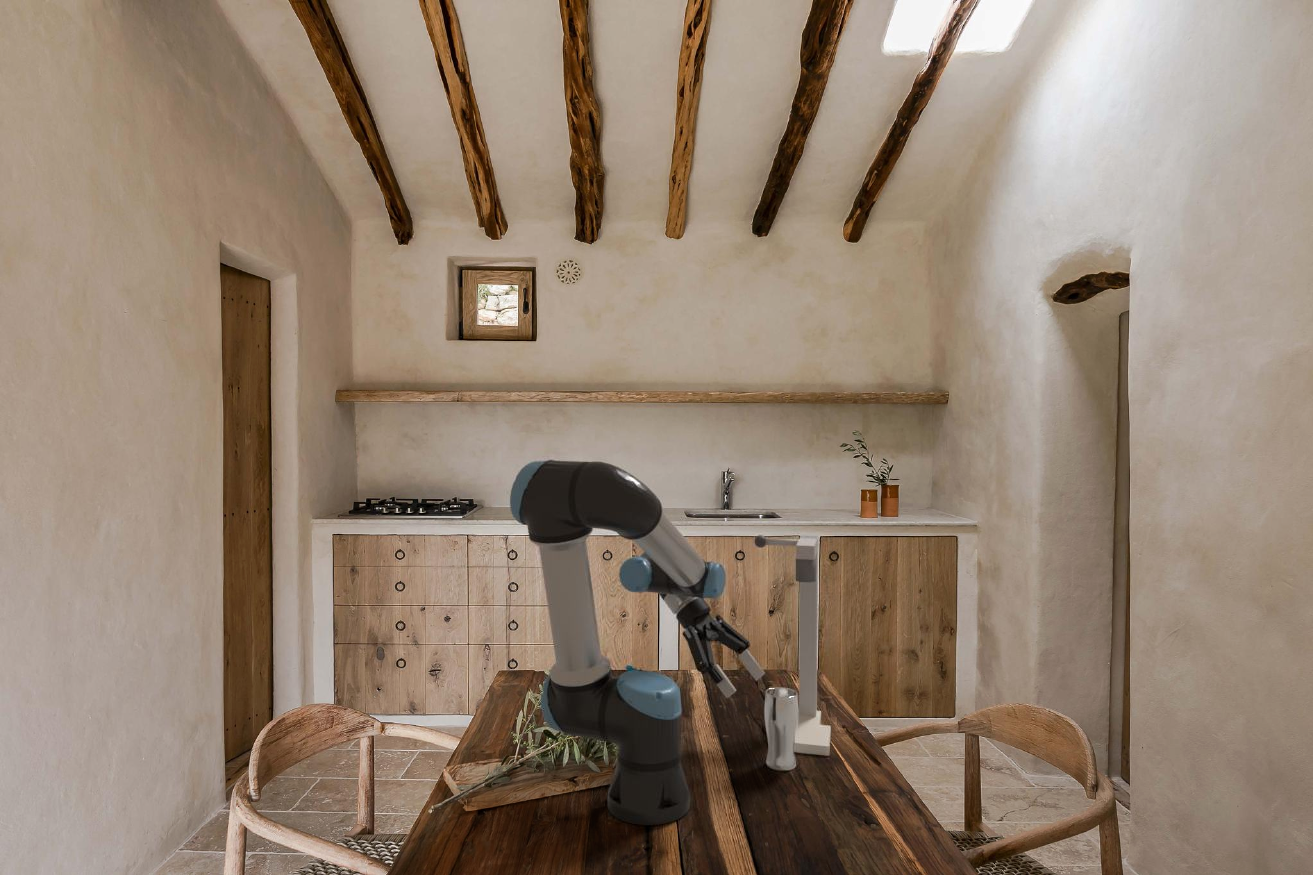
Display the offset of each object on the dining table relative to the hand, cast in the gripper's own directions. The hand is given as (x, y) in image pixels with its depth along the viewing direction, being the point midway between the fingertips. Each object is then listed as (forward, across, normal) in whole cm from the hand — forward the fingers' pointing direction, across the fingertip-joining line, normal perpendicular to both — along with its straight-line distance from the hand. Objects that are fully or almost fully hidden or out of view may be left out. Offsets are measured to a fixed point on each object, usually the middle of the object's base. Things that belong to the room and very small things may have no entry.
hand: (746, 685), depth 165 cm
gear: (-18, -19, -40) cm, 48 cm away
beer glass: (+16, +2, -4) cm, 17 cm away
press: (+13, -15, -8) cm, 21 cm away
